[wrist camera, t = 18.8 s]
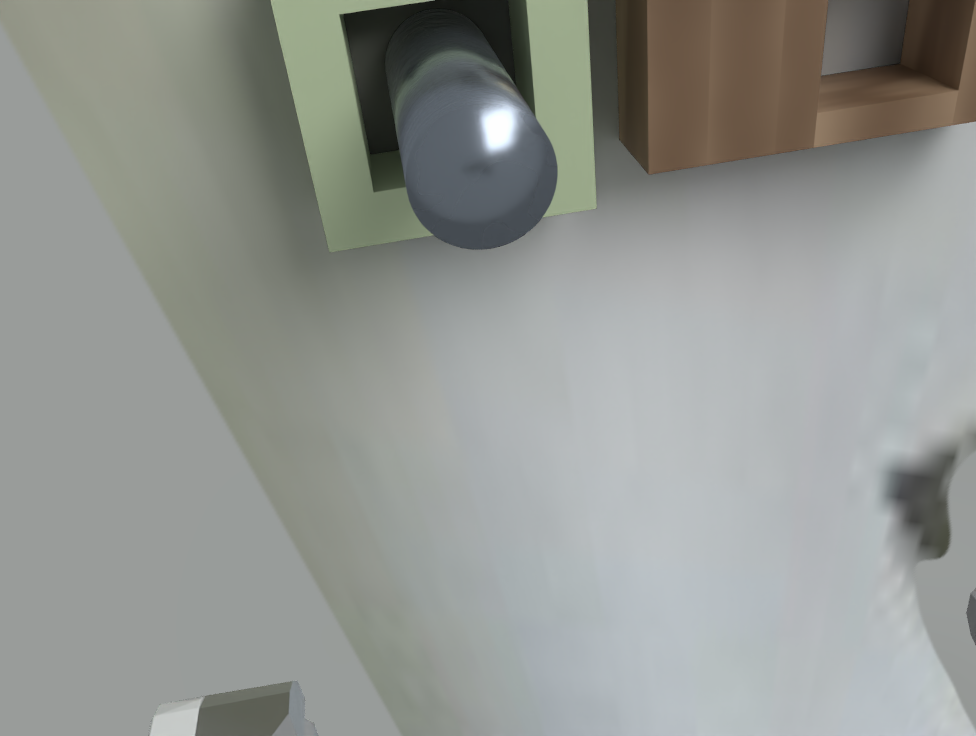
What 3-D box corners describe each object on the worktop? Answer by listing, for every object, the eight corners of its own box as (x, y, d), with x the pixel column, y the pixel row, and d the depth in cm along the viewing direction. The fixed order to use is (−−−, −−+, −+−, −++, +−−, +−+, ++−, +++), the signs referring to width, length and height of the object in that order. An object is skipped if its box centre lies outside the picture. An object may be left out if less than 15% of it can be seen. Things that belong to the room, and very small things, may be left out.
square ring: (556, -104, 30) (583, -92, 27) (572, 170, 36) (596, 208, 32) (268, -63, 30) (259, -46, 26) (330, 210, 35) (329, 252, 32)
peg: (485, 1, 32) (552, 91, 22) (496, 109, 34) (562, 236, 24) (376, 17, 32) (393, 115, 22) (394, 125, 34) (418, 260, 24)
